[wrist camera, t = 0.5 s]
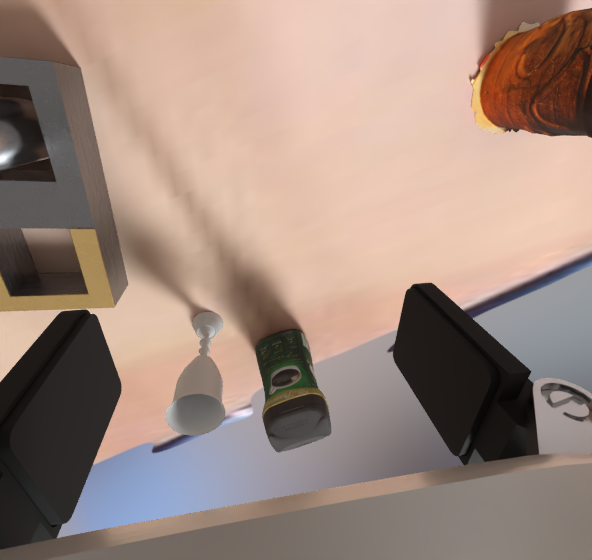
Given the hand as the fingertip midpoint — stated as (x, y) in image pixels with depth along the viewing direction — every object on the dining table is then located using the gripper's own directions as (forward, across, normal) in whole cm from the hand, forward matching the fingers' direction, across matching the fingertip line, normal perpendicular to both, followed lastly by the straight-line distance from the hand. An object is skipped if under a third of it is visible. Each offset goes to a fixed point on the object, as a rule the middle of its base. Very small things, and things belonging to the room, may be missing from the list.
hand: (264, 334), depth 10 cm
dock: (+36, +24, +3) cm, 44 cm away
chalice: (+37, +8, +26) cm, 46 cm away
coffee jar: (+37, -5, +32) cm, 49 cm away
